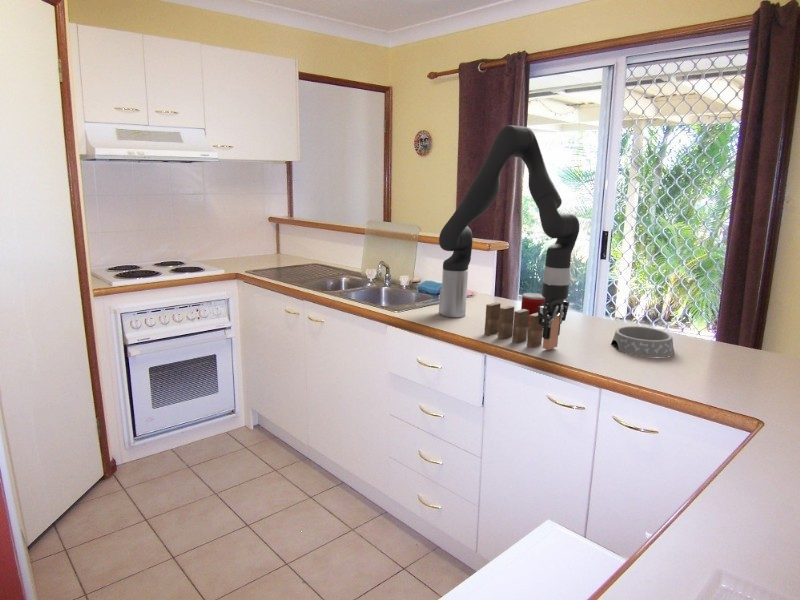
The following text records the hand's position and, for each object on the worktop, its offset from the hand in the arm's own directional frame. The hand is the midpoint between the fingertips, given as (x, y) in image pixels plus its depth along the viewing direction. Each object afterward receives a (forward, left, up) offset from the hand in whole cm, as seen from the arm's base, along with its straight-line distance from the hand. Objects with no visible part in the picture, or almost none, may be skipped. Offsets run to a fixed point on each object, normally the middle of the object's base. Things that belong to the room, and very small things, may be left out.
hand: (550, 336), depth 164 cm
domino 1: (-22, 0, -4) cm, 22 cm away
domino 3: (-11, 0, -4) cm, 12 cm away
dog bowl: (+18, +24, -5) cm, 30 cm away
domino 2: (-16, 0, -4) cm, 17 cm away
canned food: (-19, +19, -4) cm, 27 cm away
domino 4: (-5, 0, -4) cm, 7 cm away
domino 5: (0, 0, -3) cm, 3 cm away
